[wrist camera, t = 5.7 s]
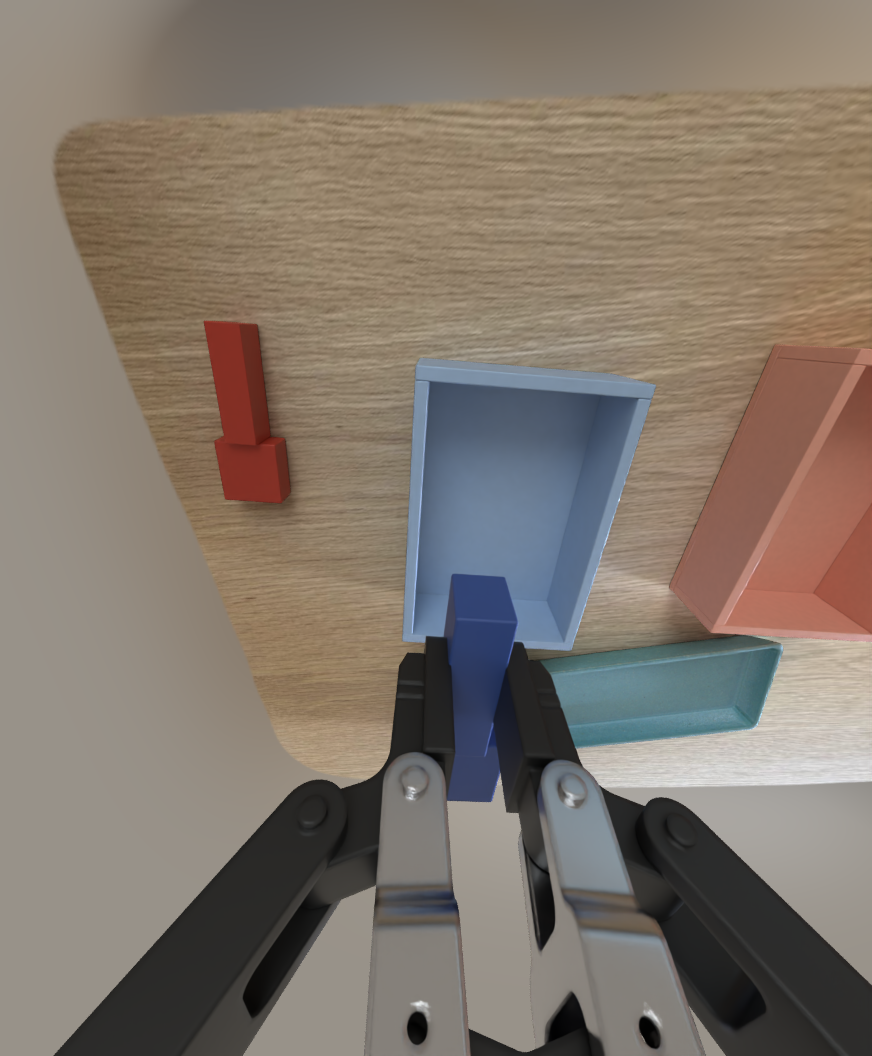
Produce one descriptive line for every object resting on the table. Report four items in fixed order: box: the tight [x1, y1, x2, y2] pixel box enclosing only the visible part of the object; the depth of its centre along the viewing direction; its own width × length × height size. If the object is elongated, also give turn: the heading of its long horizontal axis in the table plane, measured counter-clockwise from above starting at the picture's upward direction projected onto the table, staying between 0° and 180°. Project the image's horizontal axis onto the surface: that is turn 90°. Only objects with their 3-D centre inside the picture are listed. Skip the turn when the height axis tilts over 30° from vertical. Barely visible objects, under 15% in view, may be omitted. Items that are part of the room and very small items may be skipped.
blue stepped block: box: [443, 574, 518, 802], centre depth 12 cm, size 9×3×2 cm, turn 175°
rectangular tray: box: [538, 635, 783, 748], centre depth 30 cm, size 26×9×2 cm, turn 99°
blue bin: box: [402, 358, 656, 651], centre depth 21 cm, size 15×10×4 cm
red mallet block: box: [204, 321, 291, 503], centre depth 20 cm, size 9×3×2 cm, turn 176°
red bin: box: [669, 345, 872, 642], centre depth 21 cm, size 15×10×4 cm
